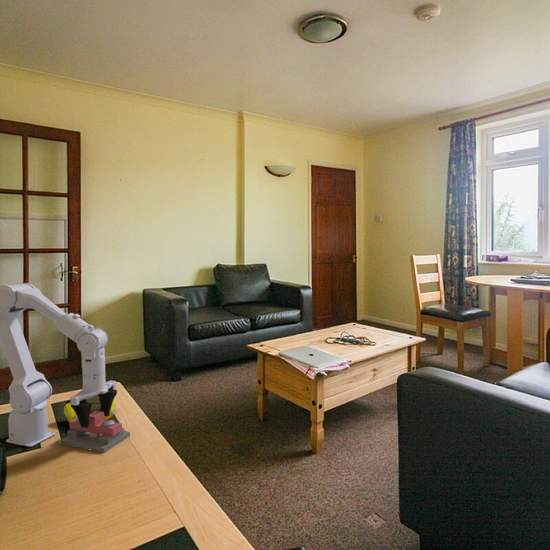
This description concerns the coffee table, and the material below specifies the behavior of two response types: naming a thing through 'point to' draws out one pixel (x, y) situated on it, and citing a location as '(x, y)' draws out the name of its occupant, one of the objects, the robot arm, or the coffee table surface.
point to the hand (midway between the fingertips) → (95, 421)
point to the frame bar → (98, 425)
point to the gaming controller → (71, 414)
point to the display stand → (93, 440)
